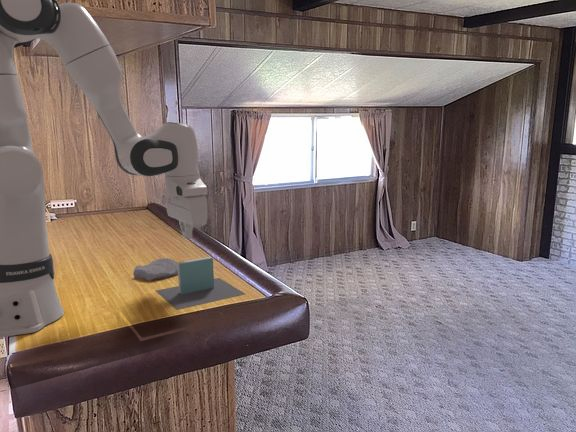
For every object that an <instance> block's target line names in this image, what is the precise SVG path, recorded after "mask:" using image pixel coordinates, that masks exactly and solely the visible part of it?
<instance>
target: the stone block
mask: <svg viewBox="0 0 576 432" xmlns="http://www.w3.org/2000/svg"><path fill="white" fill-rule="evenodd" d="M177 263H178V261H176V260H175V259H172V258H169V257H167V258H166V257H162V258H161V257H160V258H157V259H155V260H152V261H151V262H149V263H148V264H144V265H136V266H135V267H134V269H133V273H132V274H133V277H134V279H138V278H139V279H144V280H146V281H149V282H151V281H155V280H156V281H157V280H160V279H165V278H166V279H167V278H169V277H174V276H178V265H177Z"/></svg>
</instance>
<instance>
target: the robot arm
mask: <svg viewBox="0 0 576 432" xmlns="http://www.w3.org/2000/svg"><path fill="white" fill-rule="evenodd" d="M36 39H39V40H42V41H45V42H46V43H47V44H49V46H51V47H52V48H53V50H54V52H56V53H57V55H58V57H59V58H60V61H61V62H62V64H63V66H64V68H65V69H66V70H67V72H68V74H69V75H70V77H71V78H72V79H73V81H74V83H75V84H76V85H77V87H78V88H79V89H80V90H81V92H82V93H83V94H84V96H85V97H86V98H87V100H88V101H89V102H90V103H91V106H93V108H94V110H95V111H96V113H97V115H98V116H99V119H100V120H101V122H102V124H103V125H104V127H105V130H106V131H107V133H108V135H109V136H110V138H111V141H112V144H113V147H114V155H115V160H116V163H117V166H118V167H119V168H120V169H121V170H122V171H123V173H126V174H128V175H131V176H141V177H148V178H149V177H150V178H152V177H156V176H158V175H162V174H164V181H165V192H166V193H165V194H166V195H165V196H166V198H165V199H166V201H165V202H166V212H167V216H168V217H170V218H172V219H175V220H177V221H178V224H179V226H180V230H181V235H182V237H183V238H185V239H192V238H193V231H194V228H197V227H203V226H206V224H207V222H208V200H207V197H206V195H208V187H207V185H206V184H205V183H204V182H203V181H202V179H201V175H200V169H199V167H198V161H199V147H198V142H197V141H198V140H197V135H196V132H195V129H194V128H193V127H192V126H191V125H190V124H186V123H182V122H181V123H180V122H174V121H168V122H164V123H163V124H162V125H161V126H160V127H158V129H156V130H154V131H152V132H151V133H149V134H148V133H147V135H143V136H142V135H141V134H139V133H138V131H137V130H136V129H135V126H134V124H133V123H132V120H130V117H129V115H128V113H127V111H126V109H125V107H124V106H123V105H124V104H123V103H122V100H121V93H120V92H121V90H120V89H121V83H122V79H123V71H122V68H121V65H120V62H119V59H118V58H117V55H116V53H115V51H114V49H113V47H112V46H111V44H110V42H109V40H108V39H107V37H106V35H105V34H104V32H103V31H102V29H101V28H100V27H99V25H98V23H97V22H96V20H95V19H94V18H93V17H92V15H91V14H90V13H89V12H88V10H86V9H85V7H84V6H82V5H80V4H79V3H76V2H64V3H63V2H62V3H59V1H57V0H0V338H6V337H13V336H19V335H26V334H31V333H32V334H33V333H36V332H38V331H40V330H42V329H43V328H44V327H45V326H48V325H49V324H51V323H53V322H55V321H57V320H59V319H60V318H61V317H62V316H64V313H65V310H64V307H63V306H62V304H61V301H60V298H59V295H58V292H57V288H56V285H55V281H54V280H55V265H54V264H55V263H54V259H53V255H52V254H51V253H50V246H49V239H48V238H49V236H48V229H47V219H46V218H47V214H46V195H45V194H46V193H45V178H44V170H43V166H42V163H41V161H40V160H39V158H38V157H37V156H36V155H35V153H34V152H35V151H34V147H33V143H32V137H31V133H30V128H29V121H28V120H29V119H28V114H27V110H26V105H25V101H24V97H23V94H22V89H21V85H20V81H19V76H18V73H17V68H16V66H15V60H14V49H16V48H18V47H21V46H24V45H27V44H30V43H32V42H33V41H35V40H36Z"/></svg>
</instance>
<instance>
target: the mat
mask: <svg viewBox="0 0 576 432" xmlns="http://www.w3.org/2000/svg"><path fill="white" fill-rule="evenodd" d="M155 292H156V293H157V294H158V295H159V296H161V297H162V298H163V299H164V300H166V301H167V302H168V304H170V305H171V306H172V307H173V308H174V309H176V310H178V311H179V310H183V309H186V308H192V307H195V306H201V305H204V304H208V303H213V302H217V301H222V300H226V299H230V298H231V299H232V298H234V297H238V296H243V295H246V293H245V292H243V291H242V290H240V289H239V288H237V287H235V286H233V285H231V284H230V283H228V282H226V281H225V280H224V279H222V278H220V277H217V278H214V288H210V289H205V290H200V291H196V292H191V293H186V294H182V295H181V294H180V293H179V285H177V286H172V287H167V288H162V289H157V290H155Z"/></svg>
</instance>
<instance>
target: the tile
mask: <svg viewBox="0 0 576 432" xmlns="http://www.w3.org/2000/svg"><path fill="white" fill-rule="evenodd" d="M177 262H178V261H177ZM177 265H178V275H177V278H178V280H177V281H178V286H179V293H180V294H181V295H182V294H186V293H191V292H196V291H200V290H205V289H210V288H214V279H215V276H214V274H215V273H214V272H215V271H214V258H213V257H212V256H207V257H202V258H195V259H189V260H184V261H179V262H178V263H177Z"/></svg>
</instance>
